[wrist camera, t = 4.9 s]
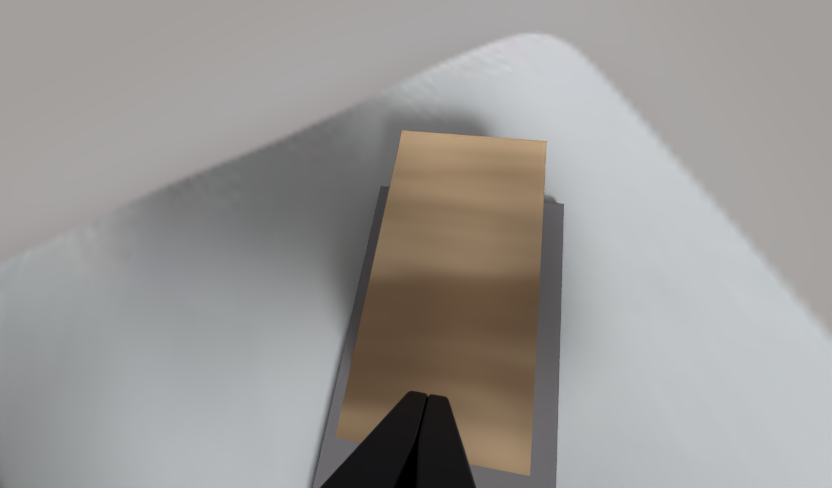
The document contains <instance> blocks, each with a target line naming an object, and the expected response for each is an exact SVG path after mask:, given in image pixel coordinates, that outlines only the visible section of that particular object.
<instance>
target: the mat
mask: <svg viewBox="0 0 832 488" xmlns="http://www.w3.org/2000/svg"><path fill="white" fill-rule="evenodd" d="M389 188H390V187H383V186H381V189H380V193H379V198H378V202H377V207H376V211H375V215H374V220H373V224H372V229H371V233H370V237H369V242H368V246H367V251H366V255H365V259H364V264H363V268H362V273H361V277H360V281H359V286H358V290H357V295H356V299H355V303H354V308H353V312H352V316H351V321H350V325H349V330H348V334H347V338H346V343H345V347H344V352H343V356H342V360H341V365H340V369H339V374H338V378H337V382H336V387H335V391H334V396H333V400H332V404H331V409H330V413H329V418H328V422H327V426H326V431H325V435H324V440H323V444H322V448H321V453H320V457H319V462H318V466H317V470H316V475H315V479H314V484H313V488H320V486H321V485H322V484H323V483H324V482H325V481H326V480H327V479H328V478H329V477H330V476H331V475H332V473H333V472H334V471H335V470H336V469H337V468H338V467H339V466H340V465H341V464H342V463H343V462H344V460H345V459H346V458H347V457H348V456H349V455H350V454H351V453H352V452H353V451H354V450H355V449H356V447H357V446H358V445H359V444H360V442H355V441H349V440H344V439H339V438H335V436H336V431H337V427H338V422H339V417H340V413H341V408H342V404H343V399H344V395H345V390H346V385H347V381H348V376H349V372H350V367H351V362H352V358H353V353H354V349H355V344H356V339H357V335H358V330H359V326H360V321H361V317H362V312H363V307H364V303H365V298H366V294H367V289H368V284H369V280H370V275H371V271H372V266H373V261H374V257H375V252H376V248H377V243H378V239H379V234H380V229H381V225H382V220H383V216H384V211H385V206H386V202H387V197H388V193H389ZM563 215H564V204H560V203H549V202H544V205H543V225H542V245H541V265H540V285H539V306H538V326H537V346H536V366H535V386H534V406H533V427H532V447H531V467H530V476H527V475H522V474H517V473H512V472H507V471H502V470H497V469H492V468H487V467H481V466H476V465H471V464H469V465H470V468H471V471H472V474H473V477H474V480H475V484H476V487H477V488H556V466H557V430H558V395H559V359H560V323H561V287H562V251H563Z"/></svg>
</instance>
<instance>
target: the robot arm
mask: <svg viewBox="0 0 832 488" xmlns="http://www.w3.org/2000/svg"><path fill="white" fill-rule="evenodd" d="M320 488H477V487H476V484H475V480H474V477H473V474H472V471H471V468H470V465H469V462H468V458H467V455H466V452H465V449H464V446H463V443H462V440H461V436H460V433H459V430H458V427H457V424H456V421H455V418H454V414H453V411H452V408H451V405H450V402H449V399H448V398H447V397H446V396H440V395H434V394H430V395H429V396H428V395H427V394H426V393H423V392H417V391H409V392H407V393H406V394H405V395H404V397H403V398H402V399H401V400H400V401H399V402H398V403H397V404H396V405H395V406H394V407H393V408H392V410H391V411H390V412H389V413H388V414H387V415H386V416H385V417H384V418H383V419H382V420H381V421H380V423H379V424H378V425H377V426H376V427H375V428H374V429H373V430H372V431H371V432H370V433H369V434H368V436H367V437H366V438H365V439H364V440H363V441H362V442H361V443H360V444H359V445H358V446H357V447H356V449H355V450H354V451H353V452H352V453H351V454H350V455H349V456H348V457H347V458H346V459H345V460H344V462H343V463H342V464H341V465H340V466H339V467H338V468H337V469H336V470H335V471H334V472H333V473H332V475H331V476H330V477H329V478H328V479H327V480H326V481H325V482H324V483H323V484H322V485H321V486H320Z"/></svg>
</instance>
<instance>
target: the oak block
mask: <svg viewBox="0 0 832 488" xmlns="http://www.w3.org/2000/svg"><path fill="white" fill-rule="evenodd" d="M546 144H547V141H539V140H525V139H512V138H498V137H485V136H471V135H458V134H444V133H431V132H417V131H404V130H402V133H401V138H400V142H399V147H398V151H397V156H396V160H395V165H394V170H393V174H392V179H391V183H390V188H389V193H388V197H387V202H386V206H385V211H384V216H383V220H382V225H381V229H380V234H379V239H378V243H377V248H376V252H375V257H374V261H373V266H372V271H371V275H370V280H369V284H368V289H367V294H366V298H365V303H364V307H363V312H362V317H361V321H360V326H359V330H358V335H357V339H356V344H355V349H354V353H353V358H352V362H351V367H350V372H349V376H348V381H347V385H346V390H345V395H344V399H343V404H342V408H341V413H340V417H339V422H338V427H337V431H336V436H335V438H339V439H344V440H349V441H355V442H360V443H361V442H362V441H363V440H364V439H365V438H366V437H367V436H368V434H369V433H370V432H371V431H372V430H373V429H374V428H375V427H376V426H377V425H378V424H379V423H380V421H381V420H382V419H383V418H384V417H385V416H386V415H387V414H388V413H389V412H390V411H391V410H392V408H393V407H394V406H395V405H396V404H397V403H398V402H399V401H400V400H401V399H402V398H403V397H404V395H405V394H406V393H407V392H409V391H417V392H423V393H426V394H427V395H428V396H429V395H430V394H434V395H440V396H446V397H447V398H448V399H449V402H450V405H451V408H452V411H453V414H454V418H455V421H456V424H457V427H458V430H459V433H460V436H461V440H462V443H463V446H464V449H465V452H466V455H467V458H468V462H469V464H471V465H476V466H481V467H487V468H492V469H497V470H502V471H507V472H512V473H517V474H522V475H527V476H530V467H531V447H532V427H533V406H534V386H535V366H536V346H537V326H538V306H539V285H540V265H541V245H542V225H543V205H544V185H545V164H546Z"/></svg>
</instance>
